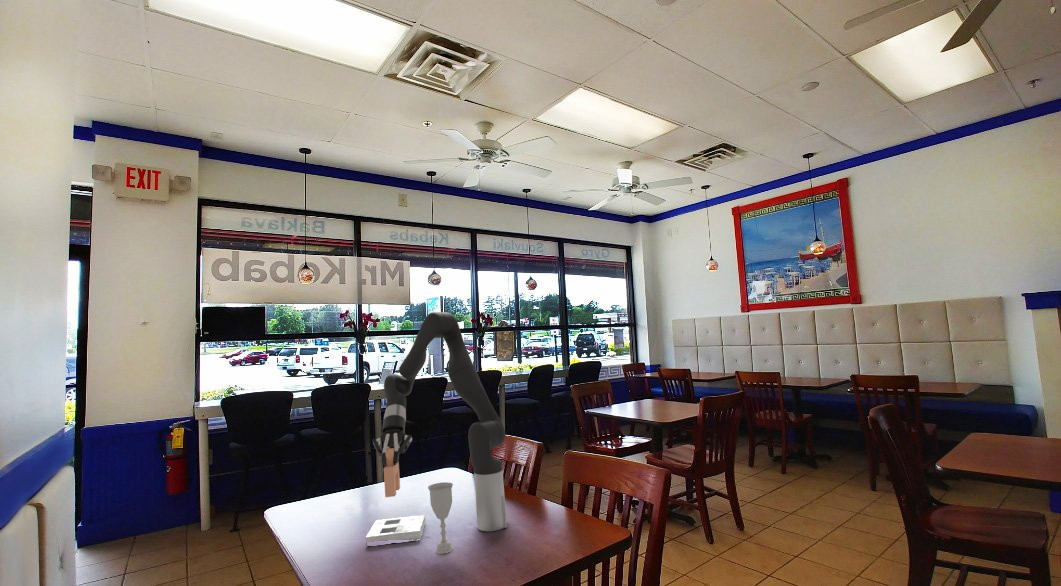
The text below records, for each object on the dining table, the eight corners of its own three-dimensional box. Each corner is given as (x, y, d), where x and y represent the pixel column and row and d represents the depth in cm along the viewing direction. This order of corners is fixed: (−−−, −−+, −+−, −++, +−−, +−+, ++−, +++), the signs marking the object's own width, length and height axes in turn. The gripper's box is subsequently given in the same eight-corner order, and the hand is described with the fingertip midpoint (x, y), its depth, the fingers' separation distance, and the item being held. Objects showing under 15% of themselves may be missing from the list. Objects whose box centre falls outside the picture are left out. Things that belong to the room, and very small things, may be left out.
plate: (425, 524, 164) (425, 514, 164) (420, 540, 150) (419, 530, 150) (376, 529, 162) (375, 520, 162) (366, 547, 148) (365, 537, 148)
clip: (400, 487, 167) (397, 445, 168) (394, 496, 157) (392, 451, 159) (391, 488, 166) (388, 446, 168) (385, 497, 157) (382, 452, 158)
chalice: (459, 544, 145) (455, 481, 146) (453, 554, 138) (449, 488, 140) (435, 545, 145) (431, 483, 147) (428, 555, 139) (424, 490, 140)
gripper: (372, 416, 171) (365, 460, 157) (412, 412, 172) (409, 455, 159) (376, 429, 176) (370, 473, 162) (416, 425, 177) (413, 468, 163)
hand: (389, 464), depth 161 cm, fingers closed on clip, 2 cm apart
